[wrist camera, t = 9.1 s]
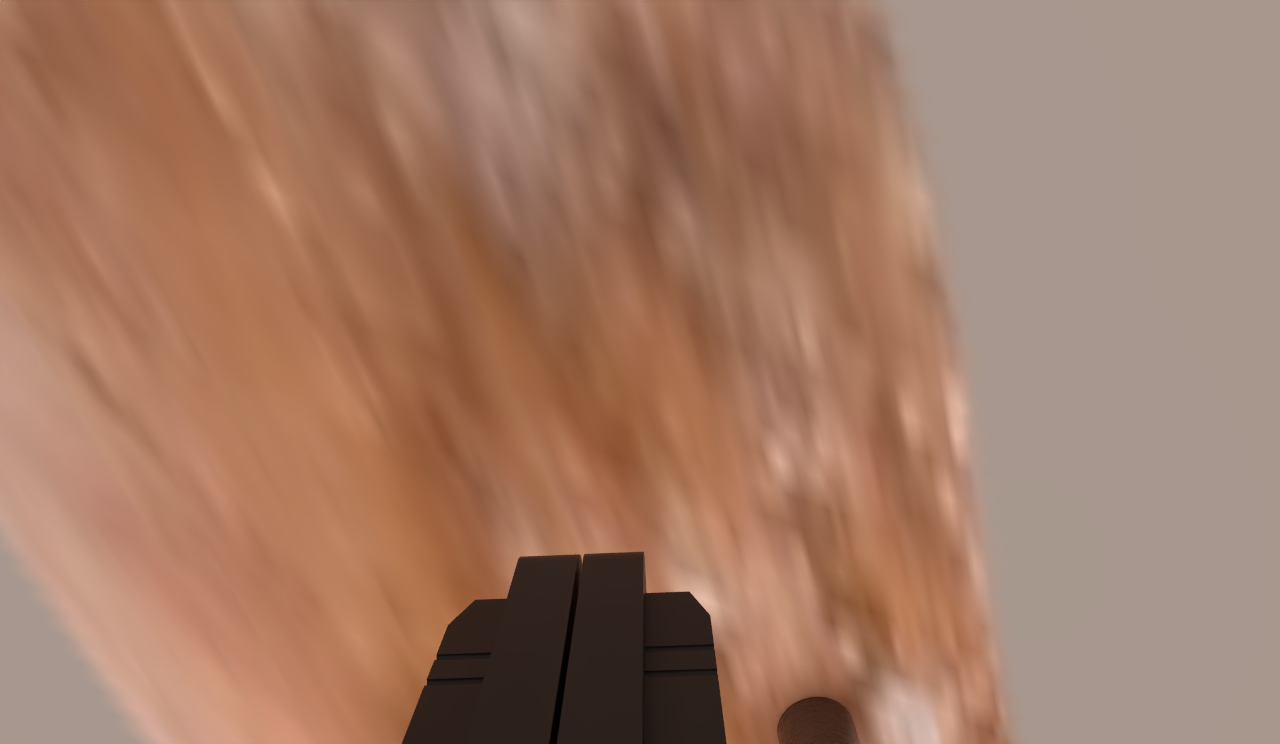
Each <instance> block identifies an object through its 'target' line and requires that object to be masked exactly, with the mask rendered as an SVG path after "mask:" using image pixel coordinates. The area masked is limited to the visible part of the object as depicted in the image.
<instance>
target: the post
mask: <svg viewBox="0 0 1280 744" xmlns="http://www.w3.org/2000/svg"><path fill="white" fill-rule="evenodd" d="M778 738H779V743H780V744H860V741H859V738H858V735H857V732H856V729H855V726H854V723H853V720H852V718H851V716H850V714H849V712H848V711H847V710H846V709H845V708H844V707H843V706H842V705H840V704H839V703H837V702H835V701H832V700H829V699H825V698H810V699H806V700H802V701H800V702H798V703H796V704H794V705H792V706H791V707H790V708H789V709H788V710H787V711H786V712H785V713H784V714H783V716H782V717H781V719H780V722H779V725H778Z"/></svg>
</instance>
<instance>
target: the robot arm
mask: <svg viewBox="0 0 1280 744" xmlns="http://www.w3.org/2000/svg"><path fill="white" fill-rule="evenodd" d="M402 744H726V736H725V728H724V720H723V713H722V705H721V697H720V689H719V681H718V675H717V665H716V658H715V650H714V642H713V634H712V626H711V618H710V615H709V613H708V612H707V611H706V610H705V609H704V608H703V607H702V606H701V604H700V603H699V602H698V601H697V600H696V599H695V598H694V596H693V595H692V594H691V593H690V592H666V593H646V576H645V559H644V552H626V553H600V554H584V558H583V564H582V560H581V556H580V555H554V556H528V557H520V558H519V559H518V562H517V566H516V569H515V572H514V576H513V579H512V583H511V586H510V590H509V593H508V597H507V599H485V600H475V601H474V602H472V603H471V604H470V605H469V606H468V607H467V608H466V609H465V610H464V611H463V612H462V613H461V614H460V615H459V616H457V617H456V618H455V619H454V620H453V621H452V622H451V623H450V624H449V625H448V627H447V629H446V632H445V634H444V637H443V640H442V642H441V645H440V647H439V650H438V652H437V660H434V663H433V665H432V668H431V670H430V673H429V675H428V678H427V686H424V688H423V691H422V693H421V696H420V698H419V701H418V704H417V706H416V709H415V711H414V714H413V716H412V719H411V722H410V724H409V727H408V729H407V732H406V734H405V737H404V739H403V742H402Z"/></svg>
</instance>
